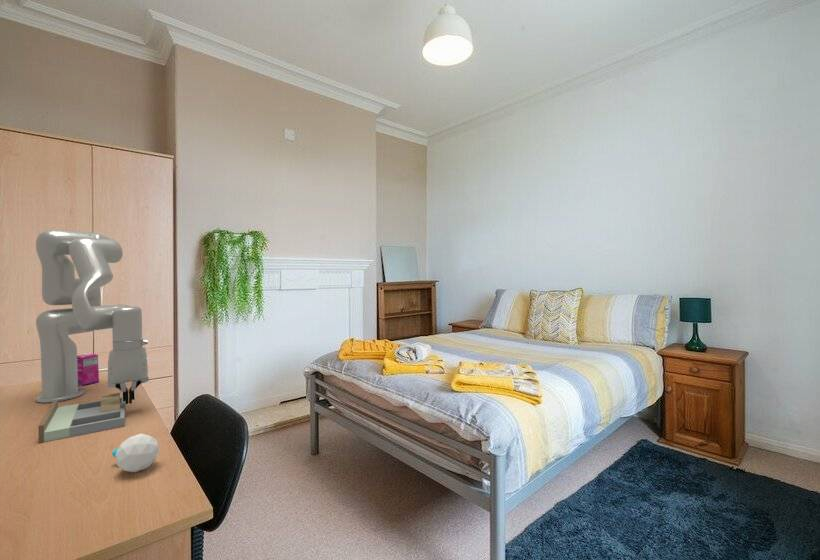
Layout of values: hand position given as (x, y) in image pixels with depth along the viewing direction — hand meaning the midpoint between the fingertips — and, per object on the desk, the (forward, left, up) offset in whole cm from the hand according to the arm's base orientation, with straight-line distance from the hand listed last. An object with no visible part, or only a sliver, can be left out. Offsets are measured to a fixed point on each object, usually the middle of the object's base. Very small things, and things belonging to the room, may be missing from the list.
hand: (128, 402), depth 120 cm
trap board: (0, -10, -3) cm, 11 cm away
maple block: (0, -4, -1) cm, 5 cm away
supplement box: (-49, -14, -4) cm, 52 cm away
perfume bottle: (+42, +1, -4) cm, 42 cm away
